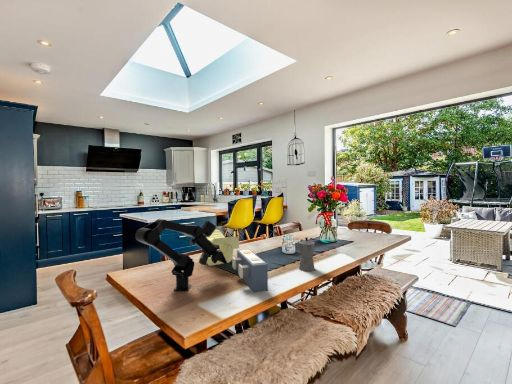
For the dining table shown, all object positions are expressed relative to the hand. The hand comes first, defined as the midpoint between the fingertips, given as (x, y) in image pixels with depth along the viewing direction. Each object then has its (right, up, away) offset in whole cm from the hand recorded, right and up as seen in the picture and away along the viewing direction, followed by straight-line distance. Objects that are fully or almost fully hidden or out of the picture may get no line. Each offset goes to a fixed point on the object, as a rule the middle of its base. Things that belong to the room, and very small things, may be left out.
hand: (226, 263), depth 139 cm
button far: (+7, -3, +2) cm, 7 cm away
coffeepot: (+44, -7, +14) cm, 47 cm away
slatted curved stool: (-9, -7, +32) cm, 34 cm away
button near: (+11, -3, -11) cm, 16 cm away
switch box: (+13, -8, -3) cm, 15 cm away
